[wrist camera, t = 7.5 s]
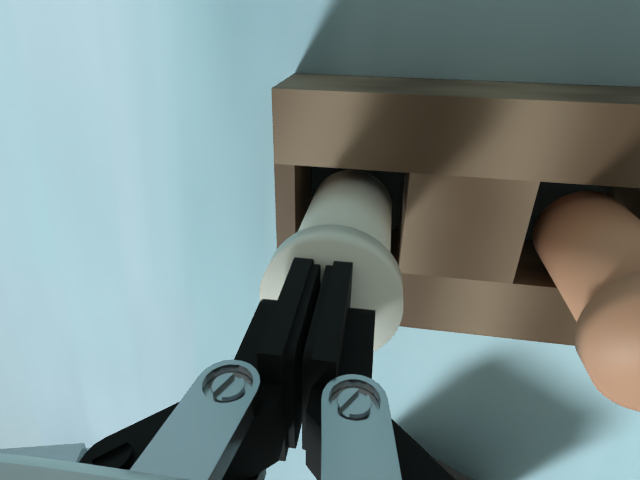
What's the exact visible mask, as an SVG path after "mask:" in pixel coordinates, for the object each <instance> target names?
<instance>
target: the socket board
mask: <svg viewBox="0 0 640 480" xmlns="http://www.w3.org/2000/svg"><path fill="white" fill-rule="evenodd" d="M272 114H273V144H274V173H275V202H276V232H277V249H278V247H279V246H280V245H281V244H282V243H283V242H284V241H285V240H286V239H287V238H289V237H290V236H291V235H293V234H295V233H296V232H298V230H299V228H300V226H301V223H302V221H303V219H304V217H305V214H306V212H307V210H308V207H309V205H310V203H311V199H312V166H314V167H329V168H344V169H359V170H374V171H389V172H404V173H405V174H404V182H403V191H402V200H401V209H400V218H399V226H398V230H391V251H390V253H391V254H392V255H393V257H394V258H395V260H396V261H397V264H398V266H399V268H400V271H401V275H402V280H403V315H402V320H401V322H400V325H399V326H403V327H412V328H421V329H430V330H439V331H448V332H457V333H466V334H475V335H484V336H493V337H502V338H511V339H520V340H529V341H538V342H547V343H556V344H565V345H574V346H575V341H574V333H575V327H576V323H577V322H576V320H575V318H574V316H573V315H572V313H571V311H570V309H569V308H568V306H567V304H566V302H565V301H564V299H563V297H562V295H561V294H560V292H559V290H558V288H557V287H556V285H555V283H554V281H553V280H552V278H551V276H550V274H549V273H548V271H547V269H546V267H545V266H544V264H543V262H542V260H541V259H540V257H539V255H538V253H537V251H536V249H535V247H534V244H533V242H532V241H524V240H525V236H526V232H527V229H528V225H529V221H530V217H531V214H532V210H533V206H534V203H535V199H536V195H537V192H538V188H539V184H540V182H554V183H569V184H584V185H599V186H611V189H610V192H609V194H608V195H610V196H612V197H614V198H615V199H616V200H618V201H619V202H620V203H621V204H622V205H623V206H625V207H626V208H627V209H628V210H629V211H630V212H631V213H633V214H634V215H635V216H636V217H637V218H638V219H639V220H640V87H625V86H600V85H574V84H549V83H524V82H499V81H473V80H448V79H423V78H398V77H372V76H347V75H322V74H297V73H294V74H293V75H291V76H290V77H288V78H287V79H285V80H284V81H282V82H281V83H279V84H278V85H276V86H274V87H273V88H272Z"/></svg>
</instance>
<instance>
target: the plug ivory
mask: <svg viewBox="0 0 640 480" xmlns="http://www.w3.org/2000/svg"><path fill="white" fill-rule="evenodd" d="M391 213H392V205H391V199H390V196H389V193H388V191H387V189H386V188H385V186H384V185H383V184H382V183H381V182H380V181H379V180H378V179H377V178H375V177H374V176H372V175H370V174H368V173H365V172H362V171H358V170H344V171H340V172H336V173H334V174H332V175H330V176H328V177H327V178H326V179H324V180H323V181H322V182H321V184H320V185H319V186H318V188H317V190H316V192H315V194H314V196H313V198H312V201H311V203H310V205H309V207H308V210H307V212H306V214H305V217H304V219H303V221H302V223H301V226H300V228H299V230H298V232H296V233H295V234H293V235H291V236H290V237H289V238H287V239H286V240H285V241H284V242H283V243H282V244H281V245H280V246H279V247H278V249H277V250H276V251H275V253H274V255H273V257H272V259H271V261H270V263H269V265H268V267H267V269H266V271H265V273H264V275H263V278H262V281H261V285H260V301H261V300H262V299H271V300H278V297H279V295H280V292H281V290H282V287H283V284H284V282H285V279H286V277H287V274H288V272H289V269H290V267H291V264H292V261H293V259H294V257H298V258H309V259H314V264H320V266H321V274H320V286H321V282H322V279H323V275H324V271H325V267H326V265H332V266H333V262H334V261H343V262H353V272H352V288H351V305H350V308H358V309H368V310H375V311H376V312H375V330H374V347H373V352H374V351H376V350H378V349H379V348H381V347H382V346H383V345H385V344H386V343H387V342H388V341H389V340H390V339H391V338H392V337H393V335H394V334H395V332H396V331H397V329H398V327H399V325H400V322H401V320H402V315H403V280H402V275H401V271H400V268H399V266H398V264H397V261H396V260H395V258H394V257H393V255H392V254H391V253H390V251H391Z"/></svg>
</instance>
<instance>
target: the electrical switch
mask: <svg viewBox="0 0 640 480" xmlns="http://www.w3.org/2000/svg"><path fill="white" fill-rule="evenodd" d="M432 458H433V457H432ZM433 459H434V460H435V461H437V462H438V463H439V464H440V465H441V466H442V467H443V468H444V469H445V470H446V471H447V472H448V473H449V474H450V475H451V476H452V477H453V478H454V479H455V480H472V479H470V478H469V477H467V476H465V475H463V474H461V473H460V472H458V471H456V470H454V469H452V468H451V467H449V466H447V465H445V464H444V463H442V462H440V461H438V460H436V459H435V458H433Z"/></svg>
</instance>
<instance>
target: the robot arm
mask: <svg viewBox="0 0 640 480" xmlns="http://www.w3.org/2000/svg"><path fill="white" fill-rule="evenodd" d="M352 272H353V262H343V261H334V262H333V266H332V265H326V267H325V271H324V275H323V279H322V282H321V286H320V274H321V266H320V264H314V259H309V258H298V257H294V259H293V261H292V264H291V267H290V269H289V272H288V274H287V277H286V279H285V282H284V284H283V287H282V290H281V292H280V295H279V297H278V300H271V299H262V300H261V301H260V303H259V305H258V307H257V310H256V312H255V314H254V316H253V318H252V321H251V323H250V325H249V327H248V330H247V332H246V334H245V336H244V338H243V341H242V343H241V345H240V347H239V350H238V352H237V354H236V356H235V359H234V360H225V361H221V362H218V363H215V364H213V365H211V366H210V367H208V368H206V369H205V370H204V371H203V372H202V373H201V374H200V375H199V376H198V378H197V379H196V381H195V382H194V383H193V385H192V386H191V387H190V389H189V390H188V391H187V393H186V394H185V395H184V397H183V398H182V400H181V401H180V402H178V403H176V404H174V405H172V406H170V407H168V408H166V409H164V410H162V411H160V412H158V413H156V414H153V415H151V416H149V417H147V418H145V419H143V420H141V421H139V422H137V423H135V424H133V425H131V426H129V427H126V428H124V429H122V430H120V431H118V432H116V433H114V434H112V435H110V436H108V437H106V438H104V439H102V440H101V441H99V442H97V443H96V444H94V445H93V446H92V447H91V448H86V447H85V444H84V443H78V444H64V445H50V446H36V447H23V448H9V449H0V480H264V479H265V475H266V468H268V467H270V466H271V465H273V464H274V463H276V462H278V461H279V460H280V461H285V460H286V456H287V452H288V448H289V447H290V448H296V446H297V442H298V438H299V433H300V429H301V424H302V449H304V450H306V466H307V467H308V468H309V469H310V471H311V472H312V473H313V475H314V476H315V477H316V479H317V480H455V479H454V478H453V477H452V476H451V475H450V474H449V473H448V472H447V471H446V470H445V469H444V468H443V467H442V466H441V465H440V464H439V463H438V462H437V461H435V460H434V459H433V458H432V457H431V456H430V455H429V454H428V453H427V452H426V451H425V450H424V449H423V448H422V447H421V446H420V445H419V444H418V443H417V442H416V441H414V440H413V439H412V438H411V437H410V436H409V435H408V434H407V433H406V432H405V431H404V430H403V429H402V428H401V427H400V426H399V425H398V424H397V423H396V422H395V421H393V420H392V419H391V414H390V409H389V403H388V398H387V396H386V393H385V391H384V389H383V388H382V387H381V386H380V385H379V384H378V383H377V382H375V381H374V380H372V364H373V347H374V330H375V312H376V311H375V310H368V309H358V308H350V305H351V288H352Z"/></svg>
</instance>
